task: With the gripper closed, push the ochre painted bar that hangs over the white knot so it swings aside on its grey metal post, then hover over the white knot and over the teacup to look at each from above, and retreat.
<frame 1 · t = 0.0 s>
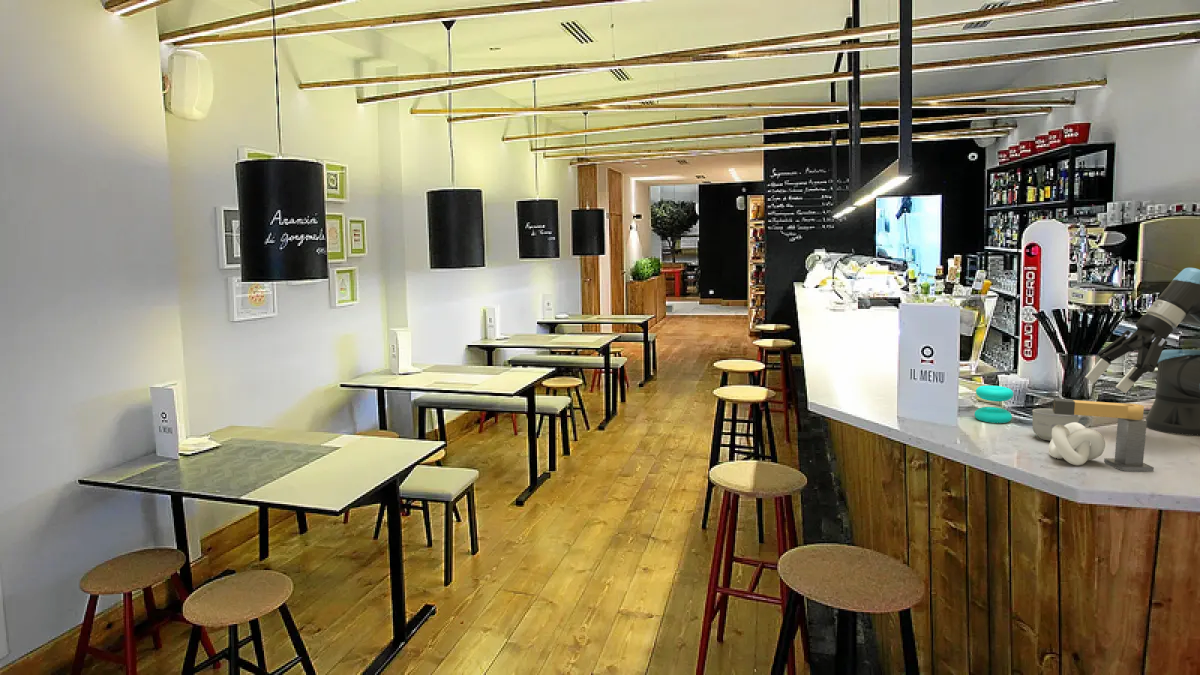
hand: (1104, 385, 196), 15 cm above the countertop, tool tilted 35°, fingers open, 13 cm apart
white knot: (1070, 462, 180), on the countertop
post: (1128, 466, 175), on the countertop
bar: (1097, 409, 176), point 14 cm above the countertop, hinge at 0.0°
donuts: (992, 420, 221), on the countertop
teacup: (1060, 440, 199), on the countertop
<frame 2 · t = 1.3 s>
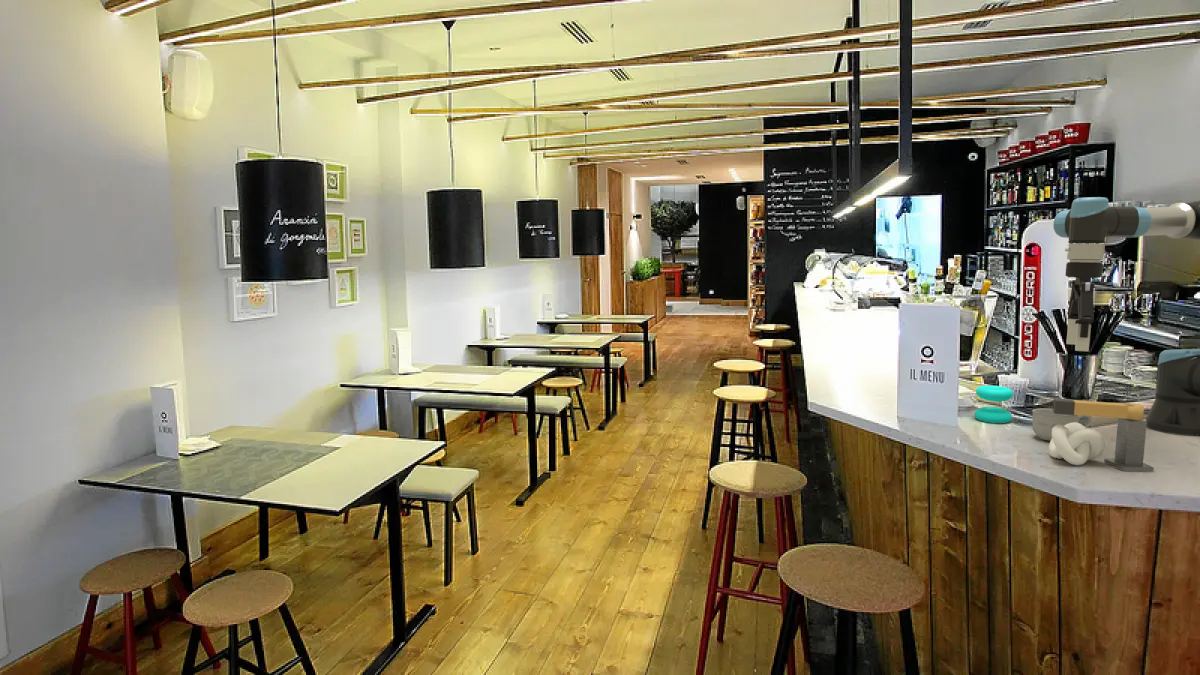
hand: (1077, 347, 182), 27 cm above the countertop, tool pointing down, fingers open, 12 cm apart
nothing on the countertop moved.
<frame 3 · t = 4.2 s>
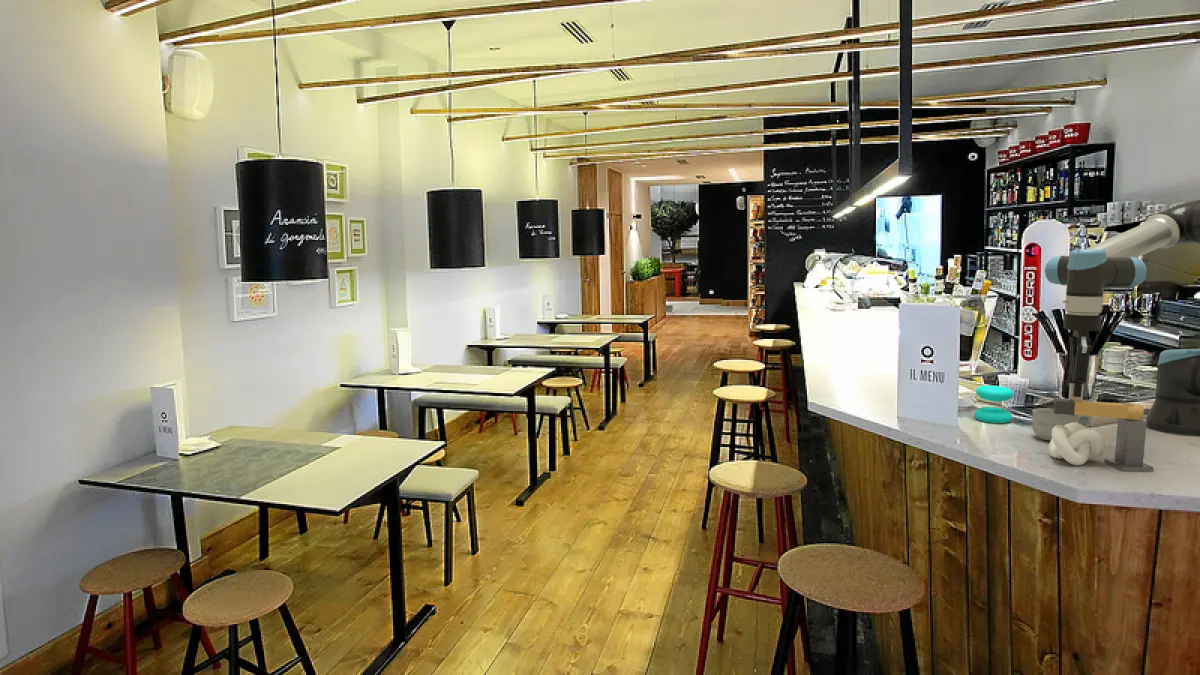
hand: (1074, 408, 180), 13 cm above the countertop, tool pointing down, fingers closed
bar: (1097, 409, 176), point 14 cm above the countertop, hinge at 0.4°, touching gripper
everything else where it was.
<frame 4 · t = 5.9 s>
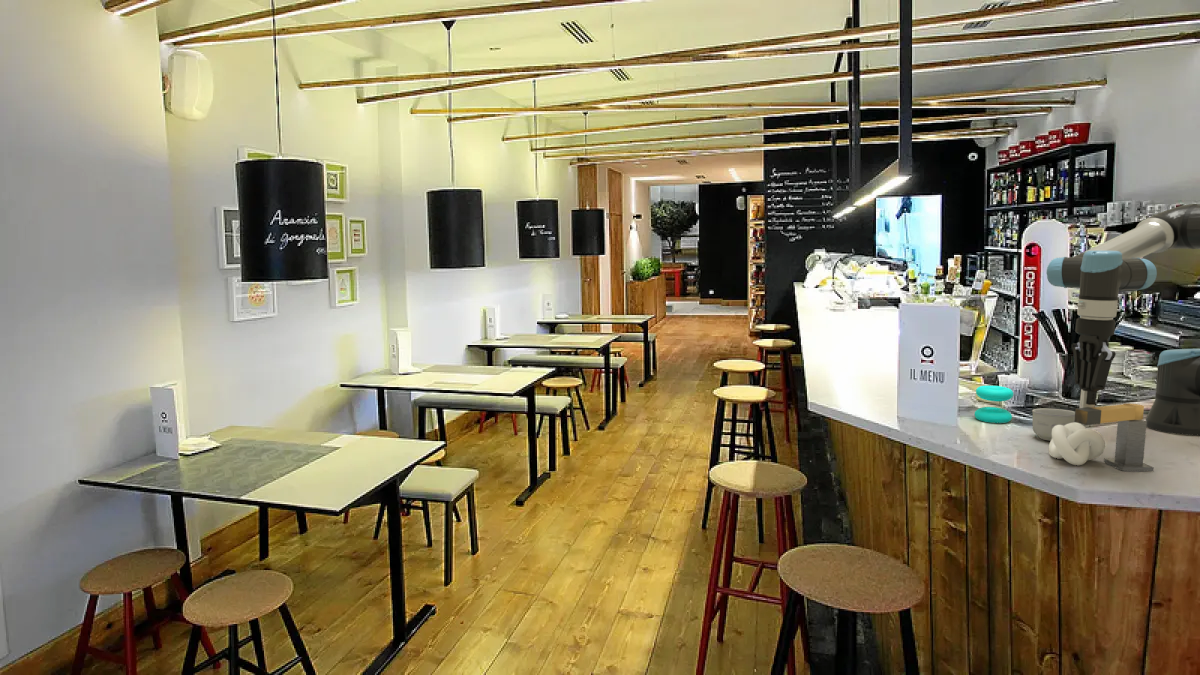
hand: (1086, 416, 172), 12 cm above the countertop, tool pointing down, fingers closed
bar: (1110, 413, 171), point 14 cm above the countertop, hinge at 41.4°, touching gripper
everything else where it was.
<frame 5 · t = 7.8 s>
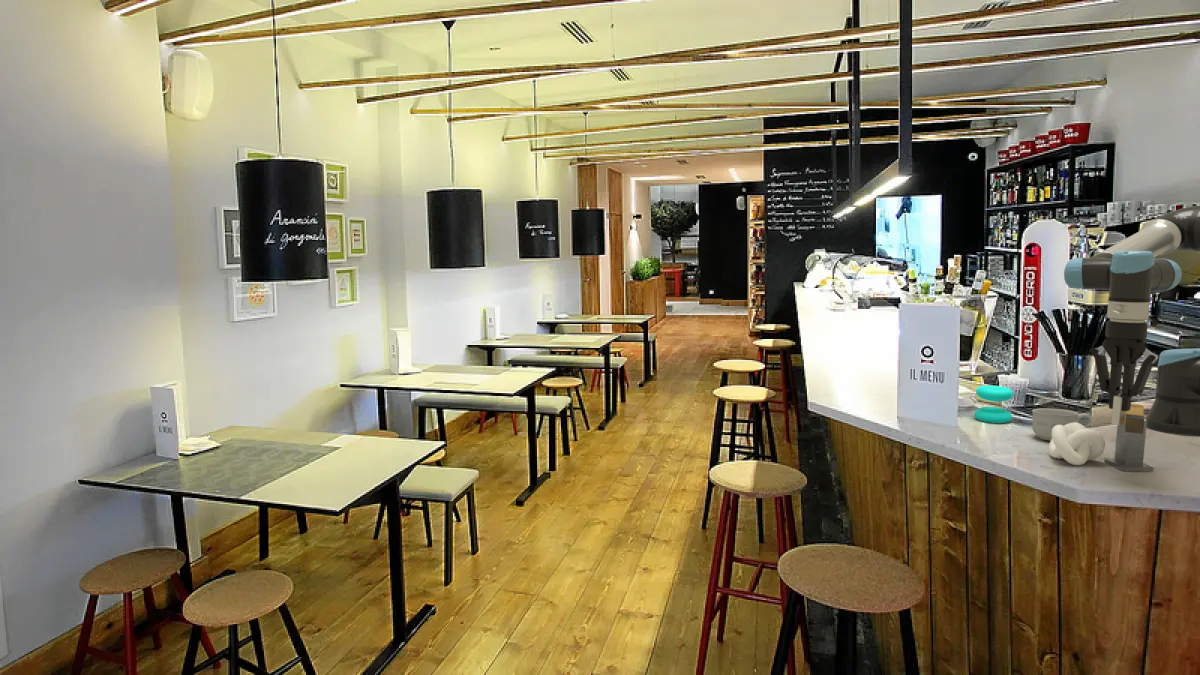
hand: (1118, 423, 166), 12 cm above the countertop, tool pointing down, fingers closed
bar: (1133, 417, 167), point 14 cm above the countertop, hinge at 79.6°
everything else where it was.
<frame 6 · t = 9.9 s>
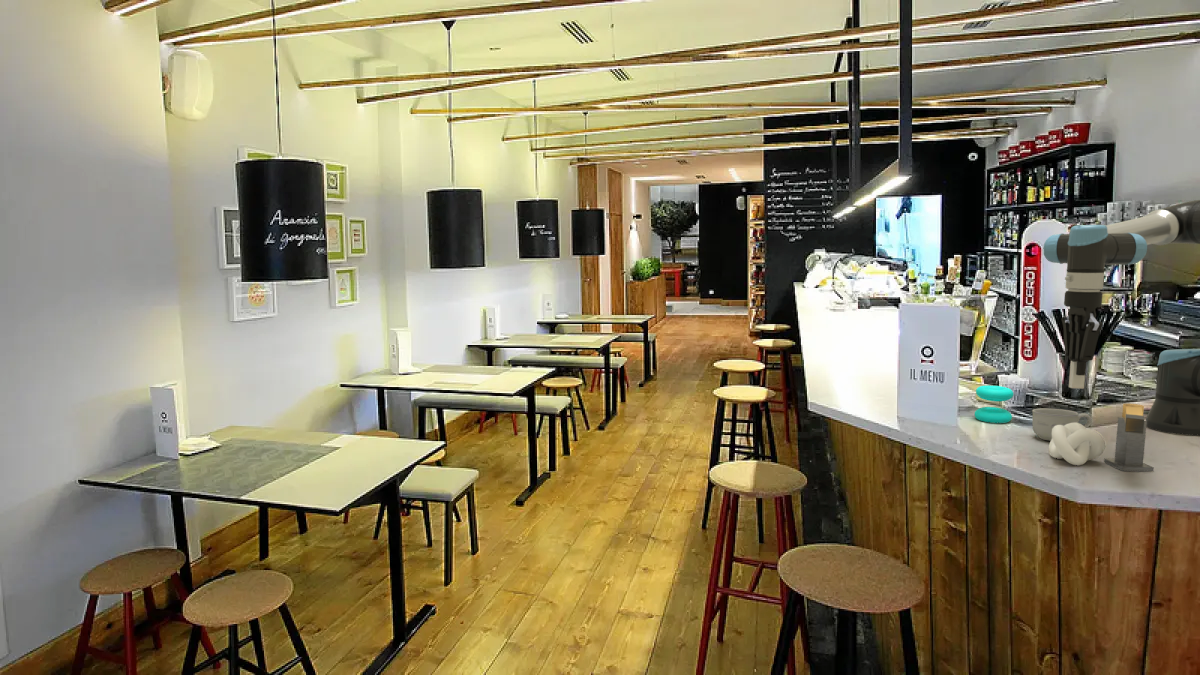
hand: (1076, 387, 177), 18 cm above the countertop, tool pointing down, fingers closed
nothing on the countertop moved.
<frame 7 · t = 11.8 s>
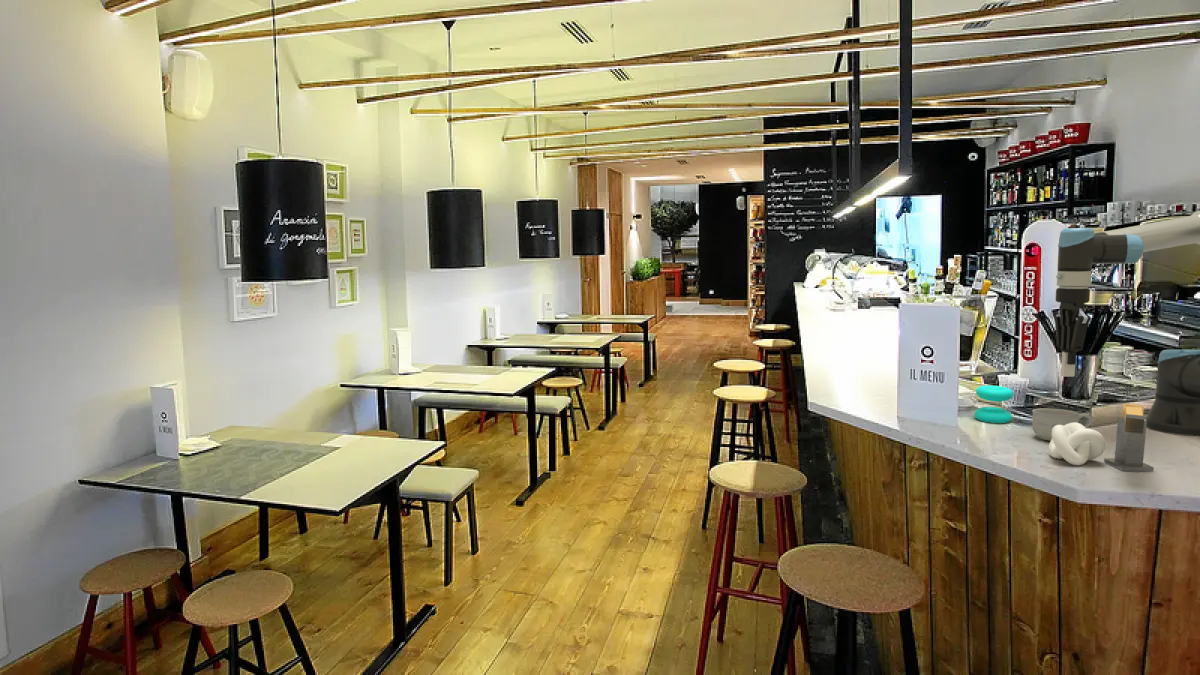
hand: (1067, 375, 195), 18 cm above the countertop, tool pointing down, fingers closed
nothing on the countertop moved.
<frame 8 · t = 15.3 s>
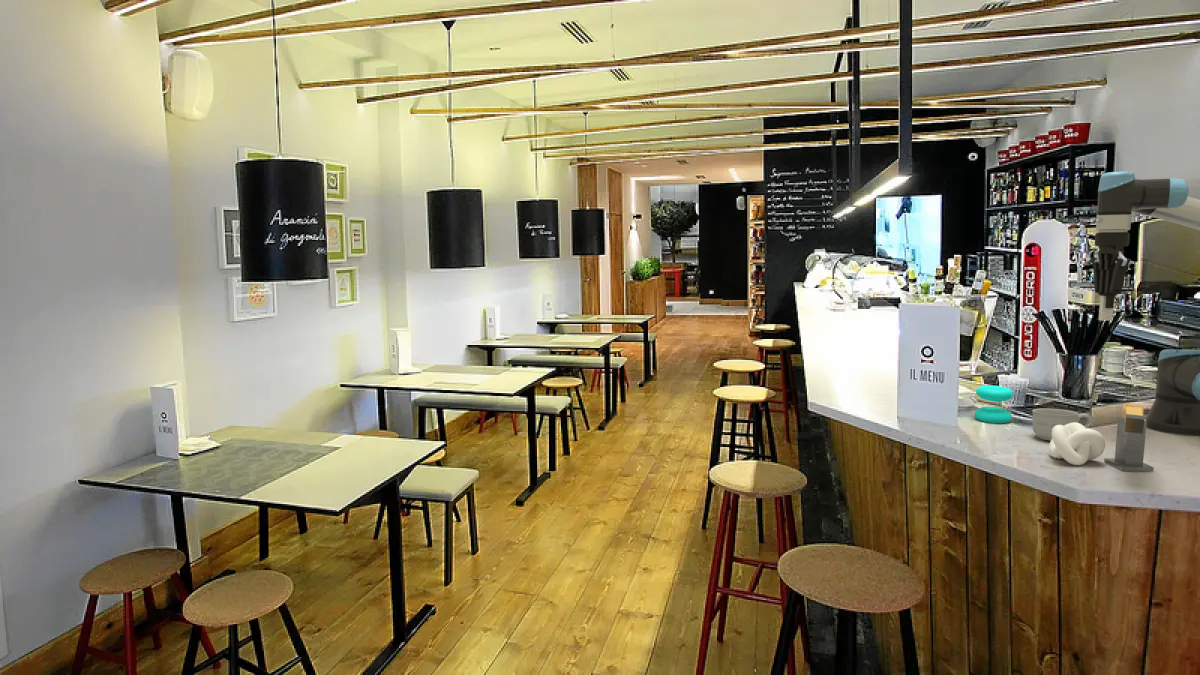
hand: (1105, 320, 197), 32 cm above the countertop, tool pointing down, fingers closed
nothing on the countertop moved.
at the end: bar at +80° (first picture: +0°); white knot moved 0.3 cm from its start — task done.
